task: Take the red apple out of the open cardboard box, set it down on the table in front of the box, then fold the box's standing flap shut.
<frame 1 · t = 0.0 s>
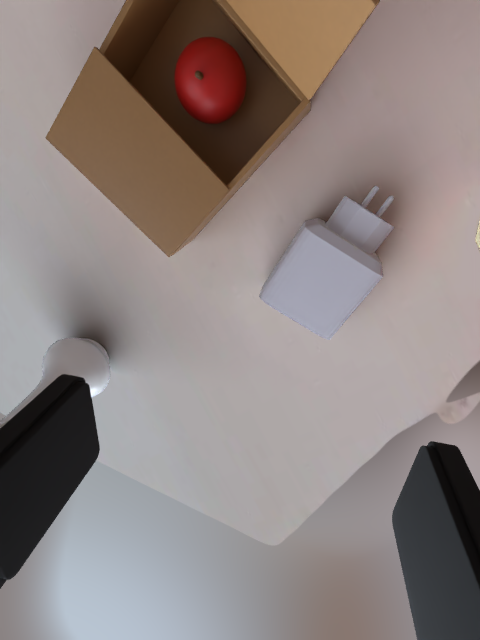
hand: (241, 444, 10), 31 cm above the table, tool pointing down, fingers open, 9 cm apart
apple: (219, 88, 32), resting on cardboard box
flower vase: (87, 355, 51), on the table
charger: (334, 251, 38), on the table
cardboard box: (192, 126, 35), on the table
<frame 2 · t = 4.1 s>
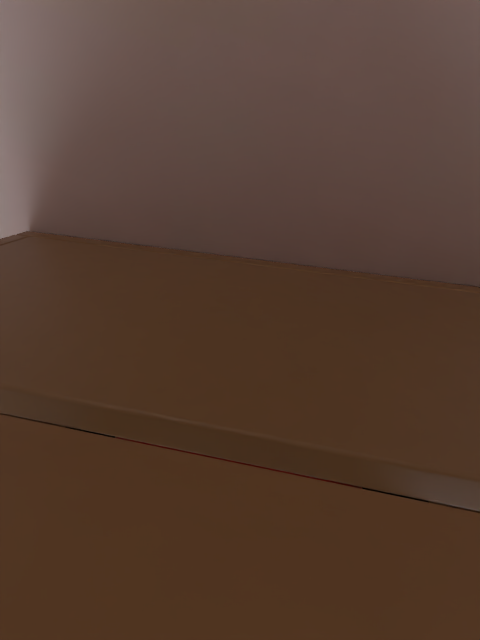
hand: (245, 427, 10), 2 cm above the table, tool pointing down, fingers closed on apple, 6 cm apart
apple: (251, 404, 11), point 1 cm above the table, touching gripper, cardboard box
cardboard box: (244, 478, 14), on the table
when the fingers open (1 cm above the table, at t = 12.6 s): apple stays where it is, on the table.
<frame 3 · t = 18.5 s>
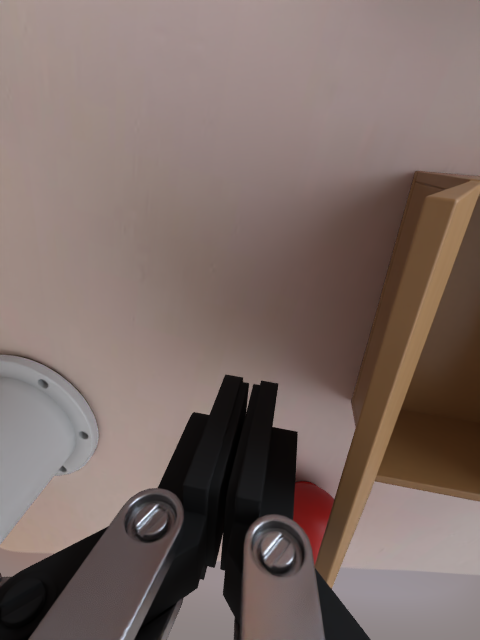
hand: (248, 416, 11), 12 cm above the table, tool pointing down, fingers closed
apple: (304, 492, 29), on the table
flap: (381, 431, 11), point 11 cm above the table, hinge at 115.0°, touching gripper
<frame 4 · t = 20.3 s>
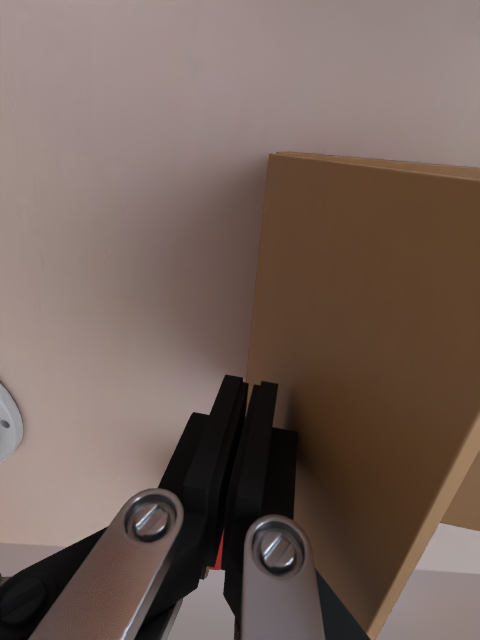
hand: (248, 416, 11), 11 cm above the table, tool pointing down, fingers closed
flap: (295, 434, 10), point 11 cm above the table, hinge at 64.4°, touching gripper
cardboard box: (429, 313, 19), on the table
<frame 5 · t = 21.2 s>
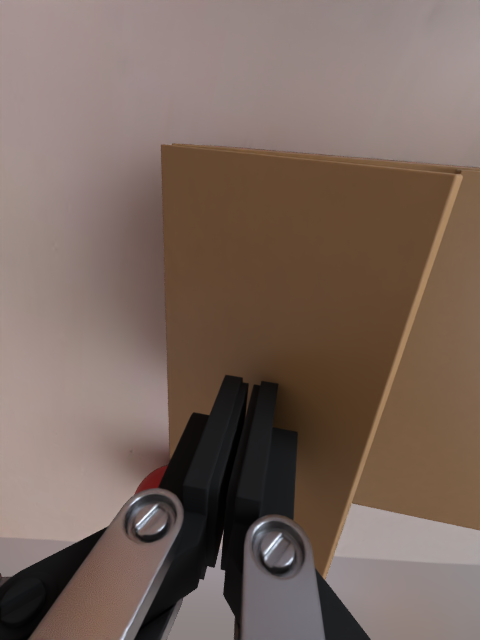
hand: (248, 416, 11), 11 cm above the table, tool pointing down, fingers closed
apple: (185, 474, 29), on the table
flap: (242, 393, 12), point 10 cm above the table, hinge at 35.4°, touching gripper
cardboard box: (363, 304, 20), on the table
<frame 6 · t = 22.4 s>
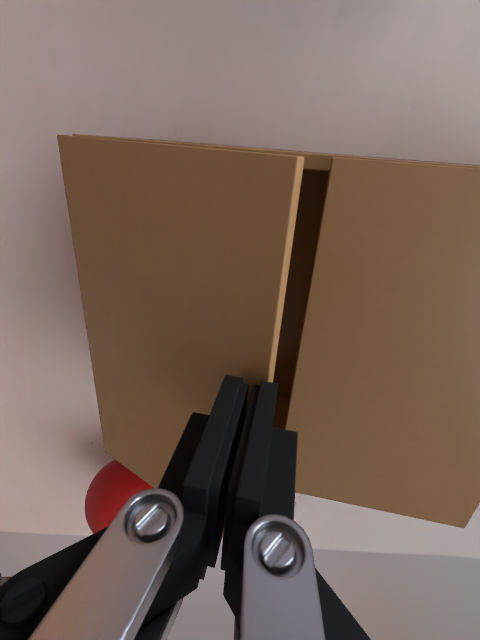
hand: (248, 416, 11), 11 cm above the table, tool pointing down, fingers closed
apple: (145, 466, 29), on the table
flap: (164, 364, 13), point 9 cm above the table, hinge at 22.4°, touching gripper
cardboard box: (300, 295, 20), on the table
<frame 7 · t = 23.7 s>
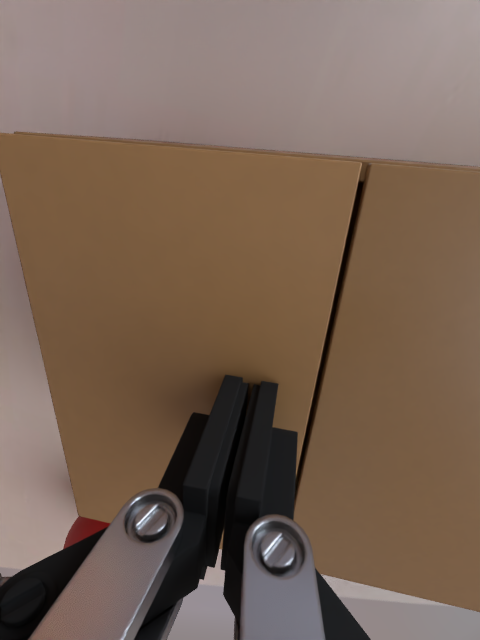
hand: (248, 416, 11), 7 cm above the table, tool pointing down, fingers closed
apple: (133, 504, 26), on the table
flap: (172, 398, 11), point 7 cm above the table, hinge at -0.3°, touching gripper
cardboard box: (309, 323, 17), on the table
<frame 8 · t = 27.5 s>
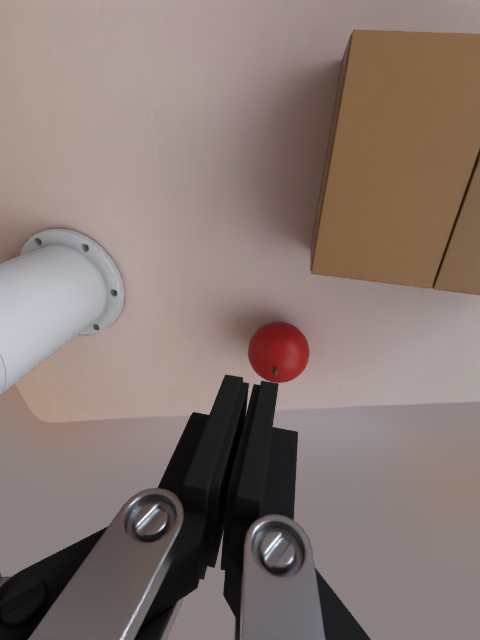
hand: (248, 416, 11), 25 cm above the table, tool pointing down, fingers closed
apple: (280, 337, 38), on the table
flap: (396, 175, 23), point 7 cm above the table, hinge at -0.4°
cardboard box: (434, 174, 28), on the table
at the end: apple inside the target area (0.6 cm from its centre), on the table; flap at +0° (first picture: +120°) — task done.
